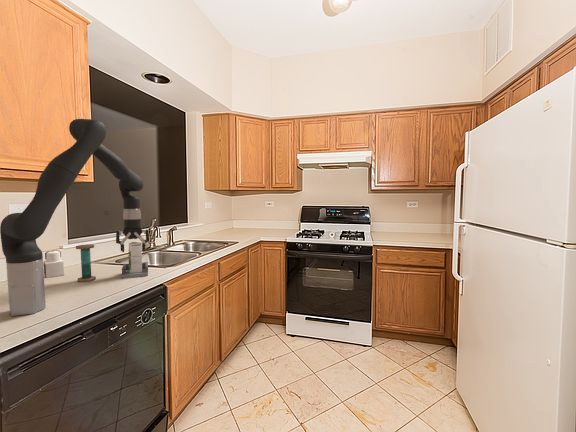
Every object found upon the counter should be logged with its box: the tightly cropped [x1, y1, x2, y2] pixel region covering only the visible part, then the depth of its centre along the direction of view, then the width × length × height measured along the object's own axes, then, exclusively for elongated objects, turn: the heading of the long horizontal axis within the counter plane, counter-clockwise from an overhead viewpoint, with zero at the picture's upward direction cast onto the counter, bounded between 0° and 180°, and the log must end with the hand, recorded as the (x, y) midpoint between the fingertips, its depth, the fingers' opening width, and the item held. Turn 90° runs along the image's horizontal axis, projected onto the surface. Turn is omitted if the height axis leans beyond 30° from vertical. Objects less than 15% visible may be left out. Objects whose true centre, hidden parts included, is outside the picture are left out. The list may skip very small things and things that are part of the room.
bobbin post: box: [75, 243, 97, 283], centre depth 135 cm, size 7×7×16 cm
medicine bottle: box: [43, 250, 66, 279], centre depth 143 cm, size 7×7×12 cm
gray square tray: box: [121, 261, 149, 279], centre depth 145 cm, size 11×11×4 cm
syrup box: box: [128, 241, 143, 273], centre depth 145 cm, size 6×6×14 cm
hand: (133, 251), depth 144 cm, fingers open, 8 cm apart
